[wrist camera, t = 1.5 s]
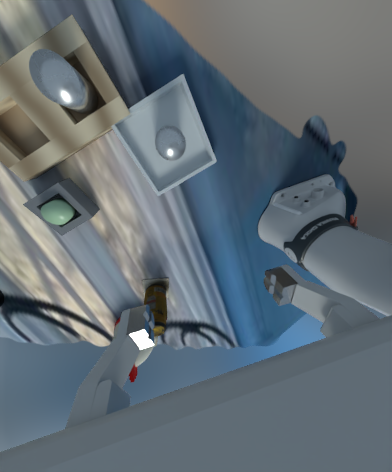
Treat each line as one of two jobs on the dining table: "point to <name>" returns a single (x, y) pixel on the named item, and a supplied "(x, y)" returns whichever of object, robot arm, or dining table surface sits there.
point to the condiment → (157, 302)
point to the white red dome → (141, 357)
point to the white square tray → (151, 121)
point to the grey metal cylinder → (170, 143)
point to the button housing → (73, 196)
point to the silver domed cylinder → (62, 82)
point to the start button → (58, 211)
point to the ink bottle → (1, 299)
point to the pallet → (52, 106)
